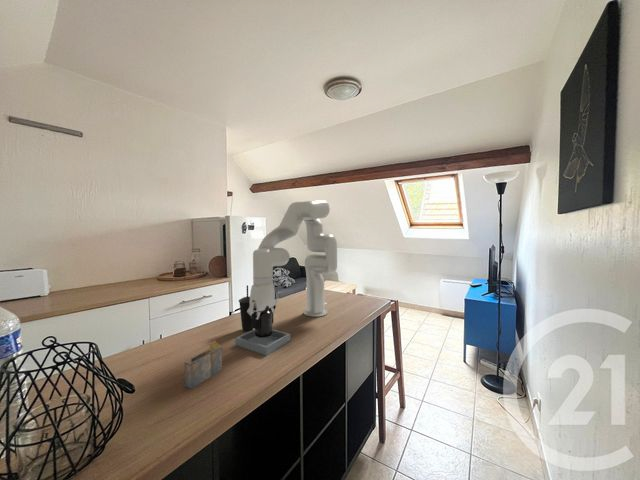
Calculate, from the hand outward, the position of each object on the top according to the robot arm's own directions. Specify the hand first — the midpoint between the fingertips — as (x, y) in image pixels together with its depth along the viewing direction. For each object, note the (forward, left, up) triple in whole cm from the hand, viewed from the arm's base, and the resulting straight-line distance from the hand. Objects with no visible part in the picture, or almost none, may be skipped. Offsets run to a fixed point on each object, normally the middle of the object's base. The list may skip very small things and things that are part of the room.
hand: (263, 325), depth 103 cm
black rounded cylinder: (-7, -16, -8) cm, 19 cm away
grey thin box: (+27, +1, -8) cm, 28 cm away
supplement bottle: (0, 0, -4) cm, 4 cm away
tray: (0, 0, -7) cm, 7 cm away
